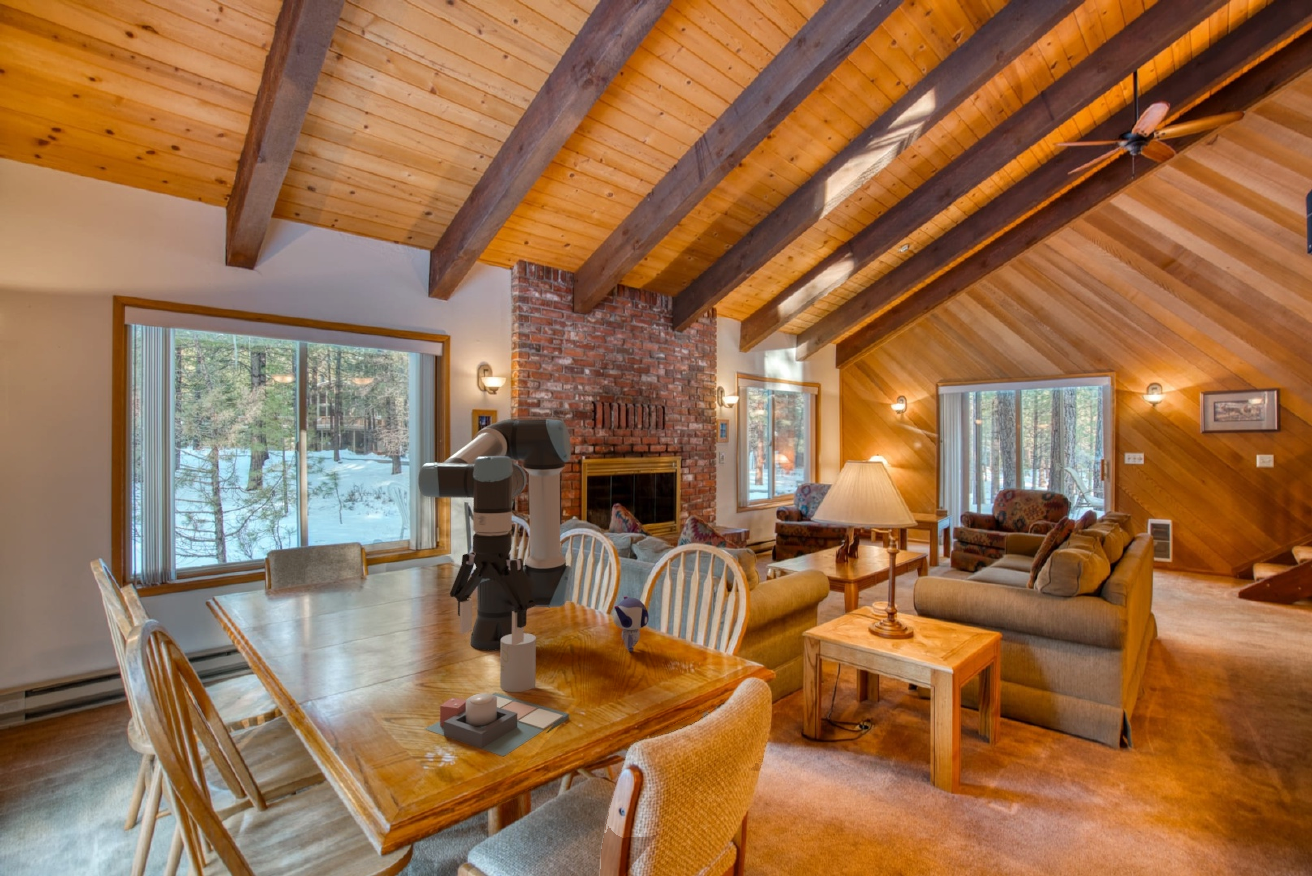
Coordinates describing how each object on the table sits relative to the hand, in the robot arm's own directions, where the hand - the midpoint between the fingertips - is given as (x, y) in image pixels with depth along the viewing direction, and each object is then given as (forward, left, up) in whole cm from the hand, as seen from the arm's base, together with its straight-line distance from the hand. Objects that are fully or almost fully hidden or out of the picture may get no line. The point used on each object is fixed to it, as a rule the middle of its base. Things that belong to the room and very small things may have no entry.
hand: (491, 637), depth 125 cm
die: (-8, -2, -18) cm, 20 cm away
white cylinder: (-10, +19, -20) cm, 29 cm away
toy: (0, +54, -20) cm, 58 cm away
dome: (-1, -2, -16) cm, 16 cm away
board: (-1, +3, -19) cm, 20 cm away
